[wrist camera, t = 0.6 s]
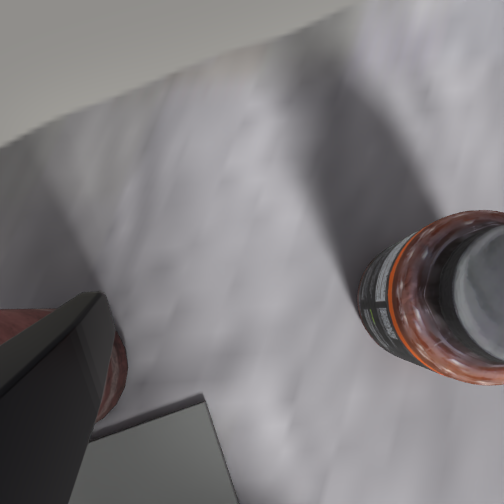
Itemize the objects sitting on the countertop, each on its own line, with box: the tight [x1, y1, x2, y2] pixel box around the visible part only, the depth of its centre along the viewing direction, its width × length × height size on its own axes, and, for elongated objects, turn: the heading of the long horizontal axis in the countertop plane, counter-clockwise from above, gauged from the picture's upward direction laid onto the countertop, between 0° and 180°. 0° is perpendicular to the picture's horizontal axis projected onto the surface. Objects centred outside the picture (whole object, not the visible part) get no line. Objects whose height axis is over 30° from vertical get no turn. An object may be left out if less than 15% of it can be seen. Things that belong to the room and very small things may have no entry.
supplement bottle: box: [357, 210, 504, 385], centre depth 18 cm, size 6×6×11 cm
